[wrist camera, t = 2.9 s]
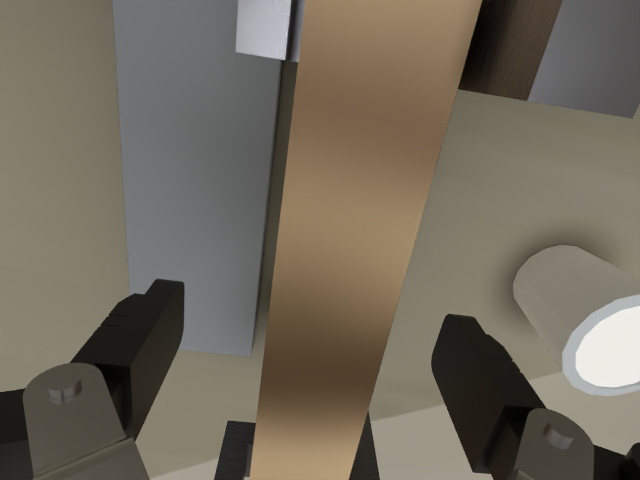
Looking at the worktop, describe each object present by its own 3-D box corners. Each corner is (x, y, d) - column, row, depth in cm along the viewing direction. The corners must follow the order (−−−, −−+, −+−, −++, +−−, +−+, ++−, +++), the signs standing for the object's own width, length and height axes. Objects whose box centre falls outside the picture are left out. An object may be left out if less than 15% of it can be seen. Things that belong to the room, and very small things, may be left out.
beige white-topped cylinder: (497, 325, 28) (552, 402, 22) (510, 240, 25) (577, 299, 19) (592, 318, 28) (675, 393, 22) (615, 232, 25) (718, 289, 19)
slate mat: (121, -88, 18) (106, -101, 16) (294, -55, 18) (292, -64, 17) (141, 330, 28) (132, 344, 26) (253, 342, 28) (250, 356, 27)
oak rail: (330, -178, 8) (341, -305, 5) (471, -147, 8) (553, -254, 5) (247, 513, 17) (235, 598, 14) (314, 518, 17) (314, 602, 15)
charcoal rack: (288, 5, 19) (198, -220, 4) (407, 26, 20) (735, -101, 5) (256, 314, 27) (184, 644, 12) (342, 324, 28) (383, 652, 12)
